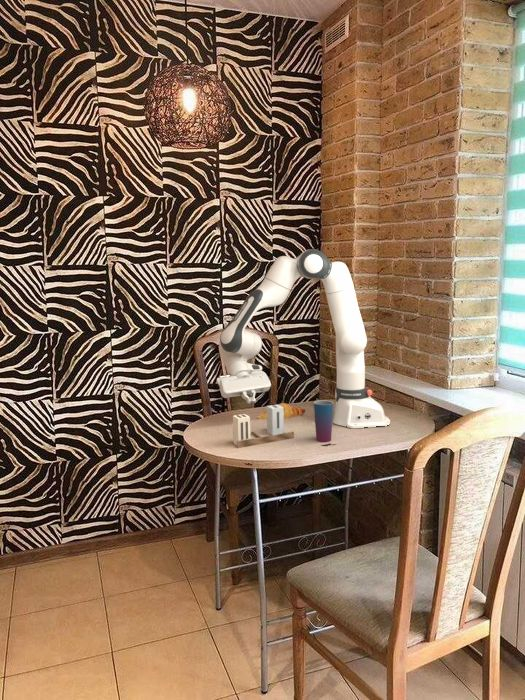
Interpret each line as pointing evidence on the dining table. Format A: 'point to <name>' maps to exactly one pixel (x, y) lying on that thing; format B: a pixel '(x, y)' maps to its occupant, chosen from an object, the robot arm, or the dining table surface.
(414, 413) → the dining table surface
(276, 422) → the key one
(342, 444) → the dining table surface
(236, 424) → the key two
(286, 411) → the croissant
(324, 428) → the cup
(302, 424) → the dining table surface
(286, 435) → the rail board
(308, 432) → the dining table surface
